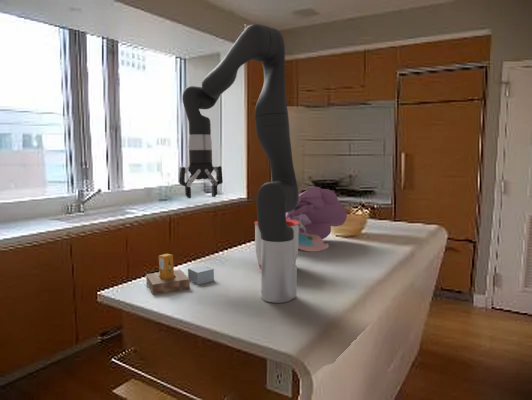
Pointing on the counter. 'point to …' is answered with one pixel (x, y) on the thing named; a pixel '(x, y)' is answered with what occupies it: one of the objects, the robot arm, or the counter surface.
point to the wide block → (201, 274)
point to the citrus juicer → (258, 239)
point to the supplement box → (166, 266)
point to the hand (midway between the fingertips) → (201, 197)
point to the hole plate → (167, 282)
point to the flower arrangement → (316, 217)
